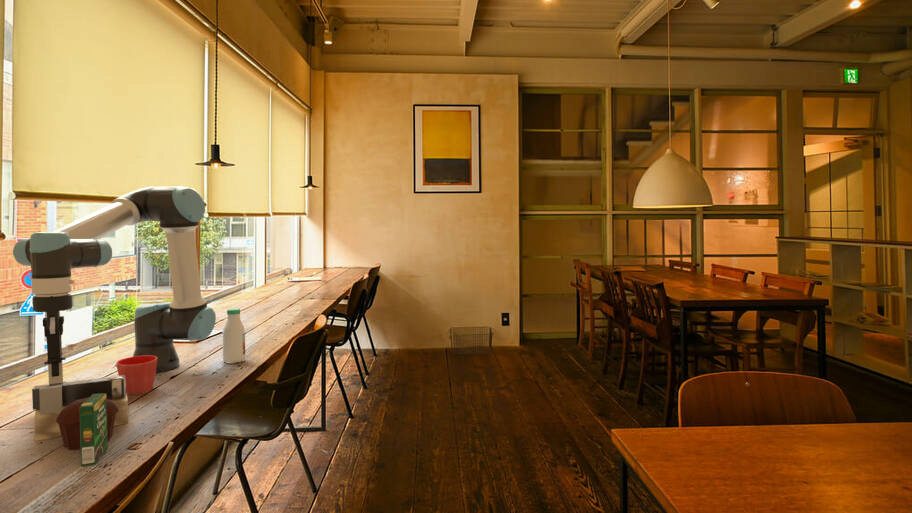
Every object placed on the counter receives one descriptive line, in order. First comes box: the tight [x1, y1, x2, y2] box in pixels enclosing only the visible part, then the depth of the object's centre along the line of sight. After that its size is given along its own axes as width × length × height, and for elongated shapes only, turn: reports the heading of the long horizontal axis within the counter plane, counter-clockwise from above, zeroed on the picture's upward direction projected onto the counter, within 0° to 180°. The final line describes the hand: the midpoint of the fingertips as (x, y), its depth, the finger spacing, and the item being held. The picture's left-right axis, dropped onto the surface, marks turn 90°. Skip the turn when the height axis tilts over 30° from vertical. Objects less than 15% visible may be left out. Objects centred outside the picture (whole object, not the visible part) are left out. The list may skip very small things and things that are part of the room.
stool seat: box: [34, 394, 129, 442], centre depth 127 cm, size 18×23×6 cm
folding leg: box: [31, 375, 127, 411], centre depth 120 cm, size 18×4×5 cm, turn 120°
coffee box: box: [80, 393, 109, 467], centre depth 104 cm, size 8×3×13 cm, turn 20°
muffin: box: [56, 397, 119, 451], centre depth 112 cm, size 12×11×10 cm
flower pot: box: [115, 355, 157, 395], centre depth 148 cm, size 11×11×10 cm
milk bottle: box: [222, 308, 246, 363], centre depth 182 cm, size 8×8×20 cm
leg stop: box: [39, 385, 62, 415], centre depth 114 cm, size 4×2×6 cm, turn 127°
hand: (56, 387), depth 120 cm, fingers closed
